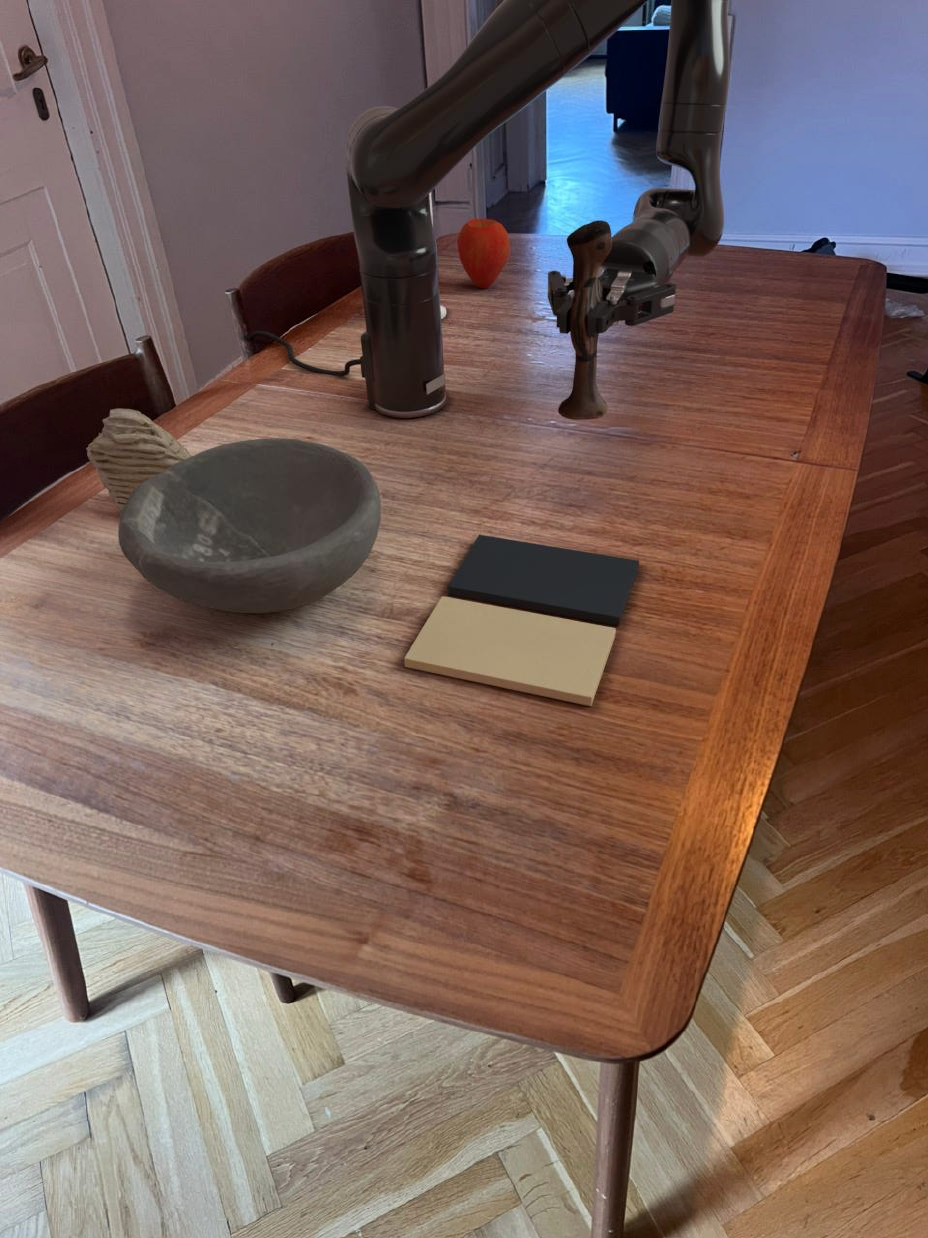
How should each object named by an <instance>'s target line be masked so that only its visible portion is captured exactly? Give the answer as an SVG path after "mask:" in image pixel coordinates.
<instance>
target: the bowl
mask: <svg viewBox="0 0 928 1238" xmlns="http://www.w3.org/2000/svg"><path fill="white" fill-rule="evenodd" d="M381 515H382V500H381V494H380V490H379V487H378V484H377V481H376V480H375V478H374V477H373V474H372V472H371V471H370V470H369V469H368V468H367V467H366V465H364V464H363V462H361V461H360V460H359V459H357V458H356V457H355V456H353V455H350V454H349V453H347V452H344V451H341V450H339V449H337V448H334V447H332V446H329V445H325V444H323V443H317V442H312V441H306V440H301V439H298V438H283V437H278V438H277V437H272V438H270V437H269V438H254V439H247V440H240V441H235V442H229V443H224V444H221V445H217V446H214V447H210V448H208V449H205V450H202V451H200V452H198V453H196V454H194V455H192V457H190V458H188V459H185V460H182V461H180V462H178V463H176V464H174V465H172V466H171V467H169V468H168V469H167V470H166V471H165V472H162V473H160V474H158V475H155V476H153V477H151V478H149V479H148V480H146V481H144V482H143V483H141V484H140V485H139V486H137V487H136V488H135V489H134V490H133V491H132V493H131V495H130V496H129V498H128V500H127V502H126V504H125V505H124V507H123V509H122V510H121V511H120V513H119V516H118V517H119V518H118V530H117V531H118V534H117V535H118V544H119V547H120V551H121V552H122V554H123V555H124V557H125V558H126V560H128V562H129V563H130V564H131V565H132V566H133V568H134V569H135V570H136V571H138V573H140V575H142V577H144V579H146V581H147V582H149V583H151V584H152V585H153V586H154V587H156V588H157V589H159V590H161V591H163V592H164V593H165V594H168V595H170V596H172V597H173V598H175V599H177V600H180V601H183V602H185V603H189V604H191V605H195V606H198V607H203V608H209V609H215V610H220V611H225V612H231V613H232V612H233V613H242V614H264V613H266V614H267V613H278V612H285V611H288V610H292V609H297V608H300V607H303V606H306V605H309V604H311V603H313V602H315V601H318V600H319V599H321V598H323V597H325V596H327V595H330V594H331V593H333V592H334V591H335V590H337V589H339V587H341V586H343V585H344V584H345V583H346V582H347V581H348V580H349V579H350V578H352V577H353V576H354V575H355V574H356V573H357V572H358V571H359V569H360V568H361V567H362V566H363V565H364V563H365V561H366V560H367V559H368V557H369V555H370V553H371V552H372V550H373V547H374V545H375V542H376V539H377V537H378V533H379V529H380V524H381V520H382V516H381Z"/></svg>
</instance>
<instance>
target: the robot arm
mask: <svg viewBox="0 0 928 1238" xmlns="http://www.w3.org/2000/svg"><path fill="white" fill-rule="evenodd" d="M648 2H649V0H503V1H502V2H501V3H500V4H499V5H498V6H497V7H496V8H495V9H494V11H492V13H491V14H490V15H489V17H488V18H487V19H486V20H485V22H484V23H482V26H481V27H480V28H479V29H478V30H477V32H476V33H475V35H474V36H473V37H472V39H471V40H470V42H468V44H467V46H466V47H465V48H464V50H463V51H462V52H461V54H460V55H459V56H458V58H457V59H456V60H455V61H454V62H453V64H452V65H451V66H450V67H449V69H447V70H446V71H445V72H444V73H443V74H442V75H441V76H440V77H439V78H438V79H436V80H435V81H434V82H433V83H431V85H429V86H428V87H427V88H425V89H424V90H423V91H421V92H420V93H419V94H417V95H416V96H415V97H414V98H412V99H411V100H409V101H408V102H406V103H405V104H403V105H402V106H400V107H399V108H398V107H395V106H389V105H381V106H379V105H378V106H375V107H372V108H369V109H367V110H365V111H364V112H362V113H361V114H360V115H358V116H357V118H356V119H355V120H354V121H353V123H352V124H351V126H350V127H349V129H348V132H347V135H346V139H345V142H344V143H345V145H344V163H345V164H344V165H345V172H346V184H347V189H348V198H349V207H350V213H351V223H352V230H353V238H354V240H355V241H354V242H355V247H356V252H357V259H358V267H359V268H358V269H359V276H360V284H361V285H360V286H361V294H362V302H363V312H364V322H365V329H366V330H365V331H364V332H363V333H362V334H361V336H360V344H361V345H360V347H361V355H360V357H359V358H356V359H351V360H348V361H347V362H346V363H345V364H344V369H343V370H329V369H323V368H319V367H315V366H312V365H309V364H307V363H304V362H302V361H299V360H298V359H296V358H295V355H294V351H293V350H294V349H293V347H292V345H291V344H290V343H289V342H288V341H287V340H285V339H283V338H281V337H279V336H277V335H275V334H273V333H270V332H268V331H263V330H256V331H255V330H254V331H252V332H251V333H250V334H249V335H248V336H247V339H246V340H247V341H248V340H249V341H252V340H253V339H254V338H256V337H265V338H268V339H270V340H271V341H275V342H276V343H279V344H280V345H282V346H283V347H285V348H286V350H287V357H288V359H289V361H290V362H291V363H292V364H293V365H294V366H296V367H298V368H301V369H302V370H306V371H309V372H311V373H316V374H319V375H328V376H335V377H345V376H348V375H349V374H350V371H351V367H354V366H359V365H360V373H361V378H363V379H364V380H365V381H364V382H365V388H366V396H367V397H366V398H367V406H368V409H372V410H376V411H377V412H378V413H379V414H382V415H384V416H388V417H391V418H399V419H412V418H420V417H425V416H428V415H431V414H434V413H436V412H438V411H440V410H441V409H442V408H444V407H445V405H446V403H447V391H446V384H447V383H446V373H445V363H444V362H445V361H444V360H445V359H444V343H443V328H442V319H441V308H440V305H441V293H440V276H439V275H440V274H439V258H438V257H439V256H438V242H437V237H436V234H435V230H434V223H433V224H432V218H431V211H430V199H429V193H430V192H431V193H432V192H433V191H434V189H436V188H437V187H438V186H439V185H440V184H441V182H443V180H444V179H445V178H446V177H448V175H449V174H450V173H451V172H452V171H453V170H454V169H455V168H456V167H457V166H458V165H459V164H460V163H461V162H462V161H463V160H464V159H465V157H466V156H468V155H469V154H470V153H471V152H472V150H474V148H476V147H477V146H478V145H479V144H480V143H482V141H483V140H484V139H485V138H486V137H488V136H489V135H490V134H491V133H493V132H494V131H495V130H497V129H498V128H499V127H501V126H502V125H504V124H505V123H506V122H507V121H509V120H511V119H512V118H513V117H515V116H516V115H517V114H518V113H520V112H522V110H523V109H525V108H526V107H527V106H529V105H530V104H531V103H533V102H534V101H535V100H537V98H539V97H540V96H541V95H542V94H544V93H545V92H546V91H547V90H549V89H550V88H552V87H553V86H554V85H556V84H557V83H558V82H560V81H561V80H562V79H563V78H565V77H566V76H567V75H568V74H570V73H571V72H572V71H574V69H576V68H577V67H579V65H580V64H581V63H582V62H584V61H585V60H587V58H588V57H590V56H591V55H592V54H594V52H596V51H597V50H598V48H600V47H601V46H602V45H603V44H604V43H605V42H606V41H607V40H609V39H610V38H611V37H613V35H614V34H615V33H616V32H617V31H618V30H620V29H621V28H622V27H623V26H624V25H625V24H626V23H627V22H628V21H629V20H630V19H631V18H632V17H633V16H635V15H636V14H637V12H638V11H640V10H641V9H642V7H644V5H646V4H647V3H648ZM728 5H729V0H670V16H669V17H670V20H669V33H668V44H667V55H666V56H667V57H666V63H665V64H666V65H665V71H664V72H665V73H664V80H663V88H662V96H661V101H660V102H661V103H660V111H659V119H658V127H657V130H658V131H657V134H656V135H657V136H656V146H655V149H656V150H655V151H656V153H655V155H656V158H657V159H658V160H659V161H660V162H662V163H664V164H666V165H669V166H673V167H677V168H680V169H682V170H684V171H686V172H687V173H689V174H690V177H691V178H692V180H693V185H694V189H688V188H687V189H685V188H670V187H654V188H649V189H647V190H645V191H644V192H642V193H641V194H640V195H639V197H638V198H637V200H636V202H635V205H634V209H633V212H632V220H631V222H630V223H629V224H626V225H624V226H623V227H622V228H621V229H619V230H618V231H617V232H615V234H614V235H612V248H611V251H610V253H609V254H608V256H607V257H606V258H605V260H604V261H603V262H602V264H601V265H600V267H599V270H598V272H597V276H596V277H597V278H598V280H599V281H600V283H601V285H602V290H603V301H601V302H600V303H599V304H598V305H597V306H596V307H595V308H594V309H593V310H592V311H591V312H590V313H589V316H588V326H587V336H588V337H593V338H596V337H597V336H598V337H599V335H600V334H603V333H606V332H607V331H608V330H609V328H610V327H615V326H617V325H618V324H619V323H620V322H622V321H624V325H626V326H629V327H634V326H638V325H641V324H644V323H647V322H649V321H651V320H654V319H658V318H661V317H663V316H666V315H670V314H672V313H673V312H674V310H675V303H676V294H677V293H676V292H677V291H676V290H677V285H676V284H675V283H671V282H670V281H671V279H672V277H673V275H674V273H675V272H676V270H677V269H678V268H679V267H680V265H682V263H683V262H684V260H685V259H686V257H694V258H702V257H703V258H704V257H706V256H708V255H709V254H711V253H712V252H713V251H714V250H715V249H716V247H717V246H718V245H719V243H720V241H721V239H722V237H723V233H724V229H725V210H724V200H723V193H722V185H721V184H722V183H721V165H720V164H721V163H720V161H721V159H720V158H721V157H720V156H721V145H722V144H721V143H722V135H723V134H722V132H723V128H724V122H725V117H726V116H725V115H726V109H727V102H728V96H729V86H730V71H731V66H730V65H731V60H730V59H731V58H730V39H729V18H728V17H729V16H728V15H729V14H728V10H729V9H728ZM574 294H575V293H574V289H573V277H567V275H565V274H561V271H558V270H551V271H548V272H547V300H548V303H549V306H550V309H551V312H552V314H553V316H554V317H556V326H555V327H556V328H558V332H559V333H560V334H564V335H569V334H570V318H571V309H572V304H573V298H574Z"/></svg>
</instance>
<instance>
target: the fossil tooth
mask: <svg viewBox="0 0 928 1238" xmlns="http://www.w3.org/2000/svg"><path fill="white" fill-rule="evenodd" d="M102 423H103V428H102V429H101V430H102V431H101V432H99V433H98V436H97V437H95V438H94V439H93V440H92V442H90V443H89V444H88V447H86V448H85V450H86V451H87V452H86V454H87V458H88V460H89V461H90V462H91V463H92V465H93V467H94V468H96V469H97V474H98V478H99V479H100V481H101V483H102V485H103V487H104V488H106V489H107V490H108V495H109V496H110V498H112V499H113V501H114V504H115V505H116V506H117V508H118V509H120V510H121V511H122V509H123V507H124V505H125V504H126V502H127V500H128V498H129V496H130V495H131V493H132V491H133V490H134V489H135V488H136V487H137V486H139V485H140V484H141V483H143V482H144V481H146V480H148V479H149V478H151V477H153V476H155V475H158V474H160V473H162V472H165V471H166V470H167V469H168V468H169V467H171V466H172V465H174V464H176V463H178V462H180V461H182V460H185V459H188V458H190V457H192V456H193V454H191V452H190V451H189V450H188V449H187V448H185V447H184V446H183V445H182V444H181V443H180V441H178V439H176V438H175V437H173V436H172V434H171V433H169V432H168V431H166V430H165V429H164V428H162V427H161V426H160V425H158V424H156V422H153V420H152V419H151V418H150V417H148V416H146V415H145V414H144V413H142V412H140V411H139V410H135V409H131V408H119V407H118V408H113V409H110V410H109V415H108V416H107V417H106V418H103V419H102Z"/></svg>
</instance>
